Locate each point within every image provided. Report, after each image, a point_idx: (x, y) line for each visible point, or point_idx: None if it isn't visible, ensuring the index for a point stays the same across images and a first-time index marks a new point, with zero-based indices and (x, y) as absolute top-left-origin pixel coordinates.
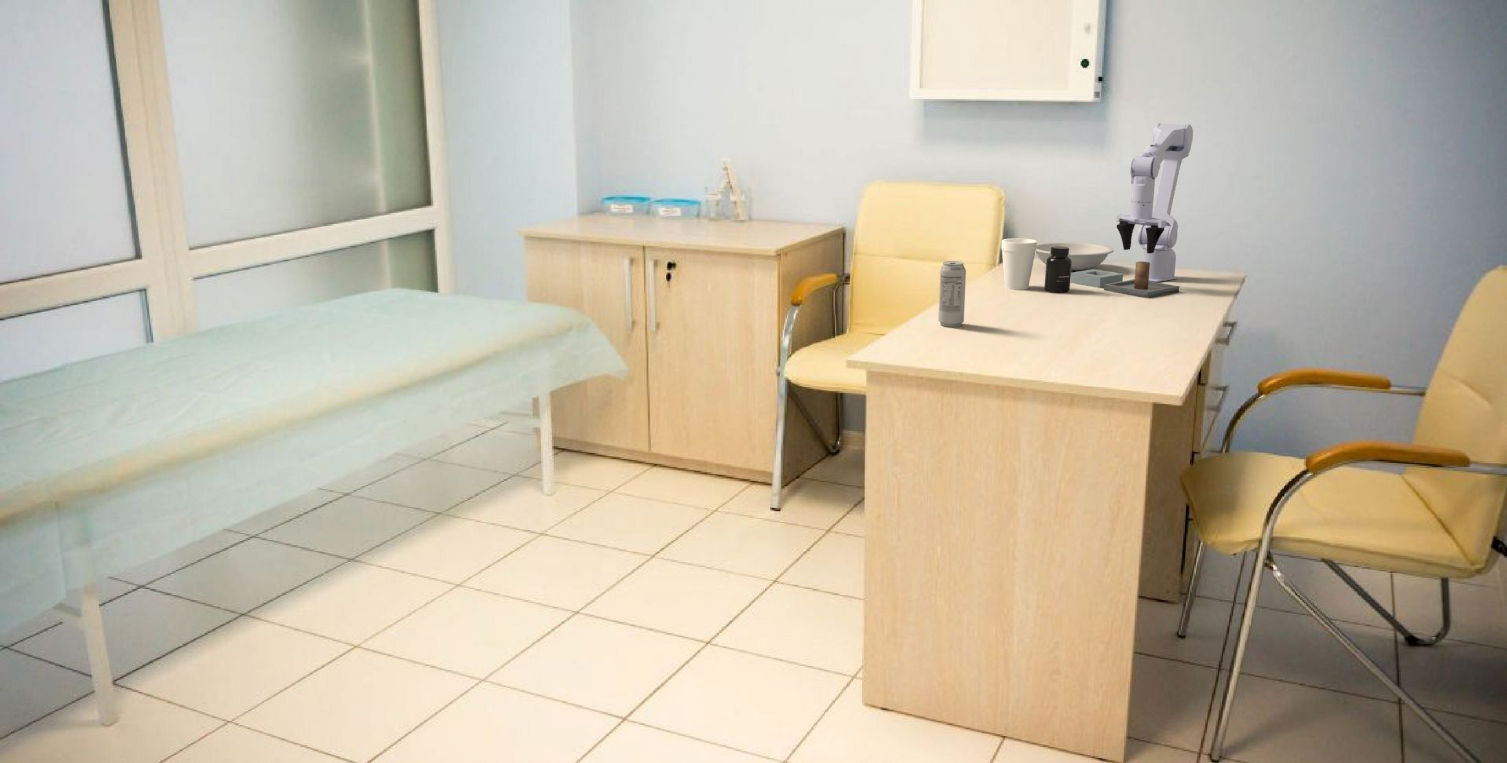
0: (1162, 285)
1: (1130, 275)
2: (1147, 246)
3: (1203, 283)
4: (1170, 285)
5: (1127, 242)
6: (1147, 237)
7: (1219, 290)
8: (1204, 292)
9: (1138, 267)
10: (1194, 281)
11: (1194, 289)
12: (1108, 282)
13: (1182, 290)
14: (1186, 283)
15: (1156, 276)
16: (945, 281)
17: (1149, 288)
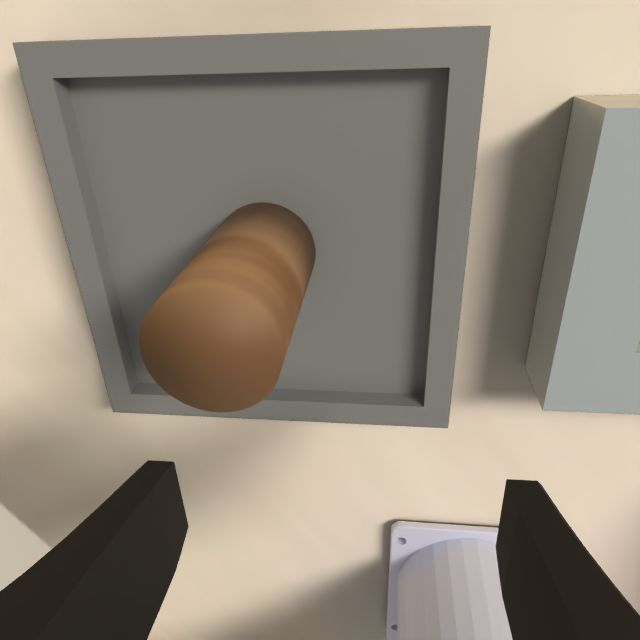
0: None
1: (630, 587)
2: (120, 517)
3: (244, 619)
4: (155, 394)
5: (528, 595)
6: (27, 637)
7: None
8: (67, 468)
9: (213, 268)
10: (300, 632)
11: None
12: (560, 223)
13: (159, 439)
14: (288, 582)
15: (420, 563)
16: None
17: None
